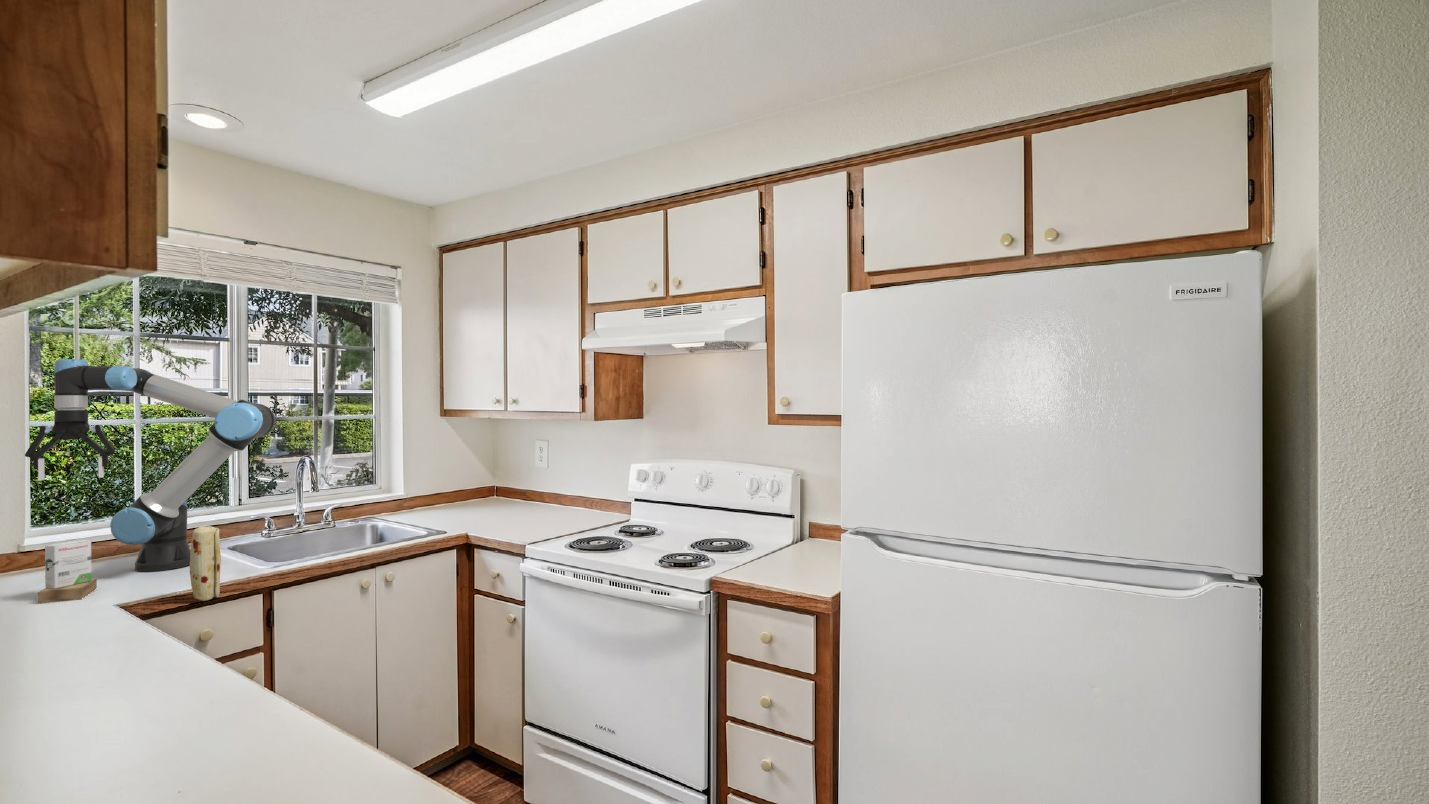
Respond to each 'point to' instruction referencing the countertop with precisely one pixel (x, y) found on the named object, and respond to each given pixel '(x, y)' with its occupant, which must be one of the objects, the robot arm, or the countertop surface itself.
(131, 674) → the countertop surface
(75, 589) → the base
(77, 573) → the ink box
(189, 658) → the countertop surface
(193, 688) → the countertop surface
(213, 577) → the food model
